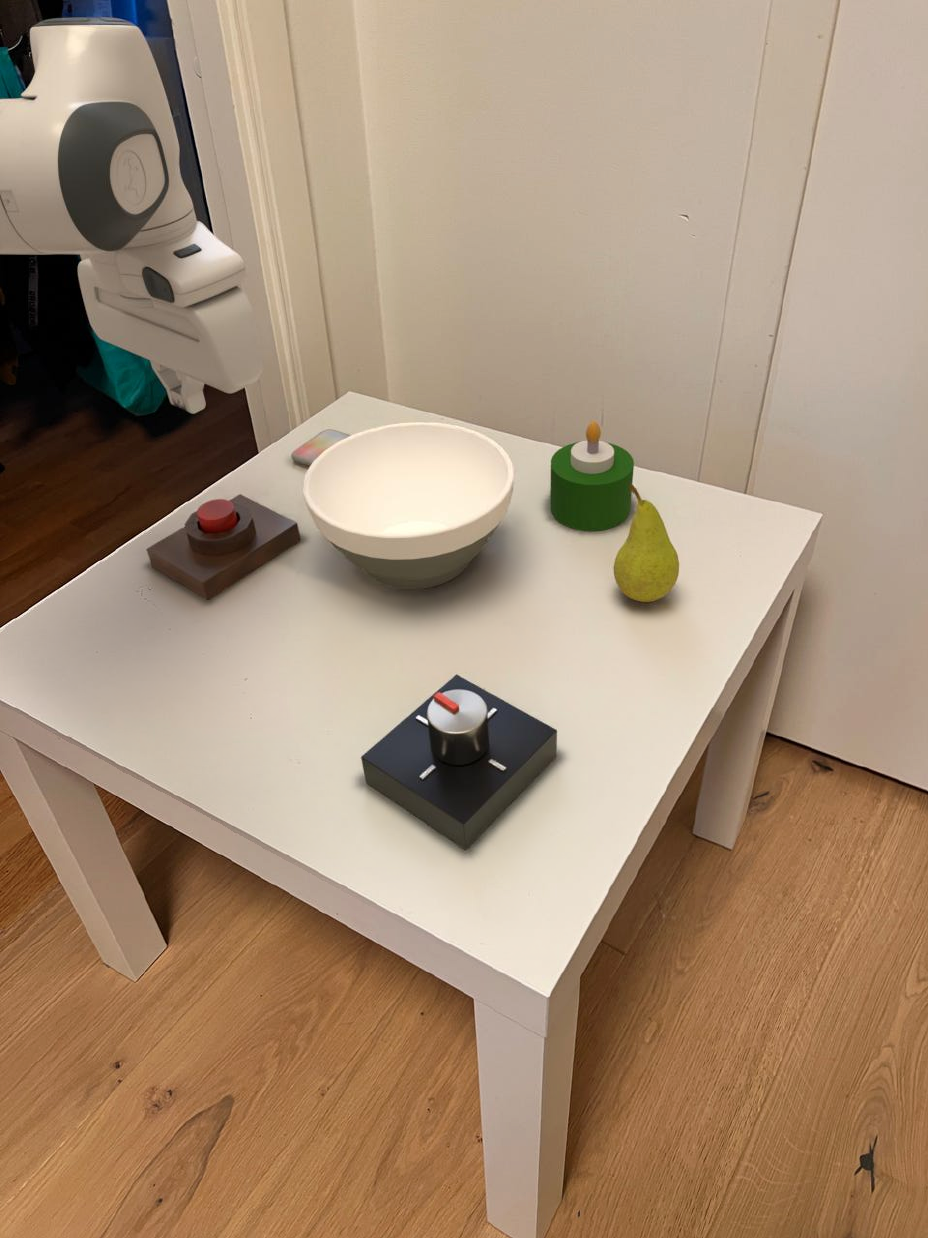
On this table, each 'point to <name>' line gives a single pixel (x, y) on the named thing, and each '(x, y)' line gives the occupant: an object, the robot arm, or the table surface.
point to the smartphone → (317, 446)
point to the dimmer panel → (460, 767)
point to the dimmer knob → (458, 726)
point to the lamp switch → (223, 548)
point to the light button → (217, 516)
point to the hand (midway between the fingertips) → (189, 406)
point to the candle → (591, 483)
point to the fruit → (646, 556)
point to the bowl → (410, 500)
